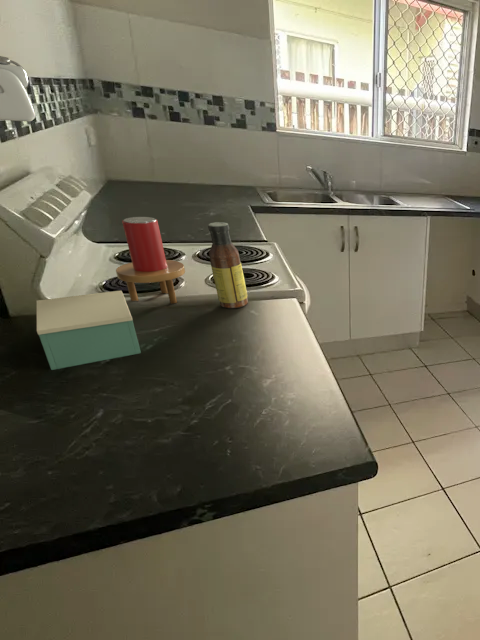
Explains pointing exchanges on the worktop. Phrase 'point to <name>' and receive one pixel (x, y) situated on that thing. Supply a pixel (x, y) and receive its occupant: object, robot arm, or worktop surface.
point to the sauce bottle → (226, 267)
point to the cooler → (90, 344)
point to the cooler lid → (81, 312)
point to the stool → (151, 278)
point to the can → (145, 243)
